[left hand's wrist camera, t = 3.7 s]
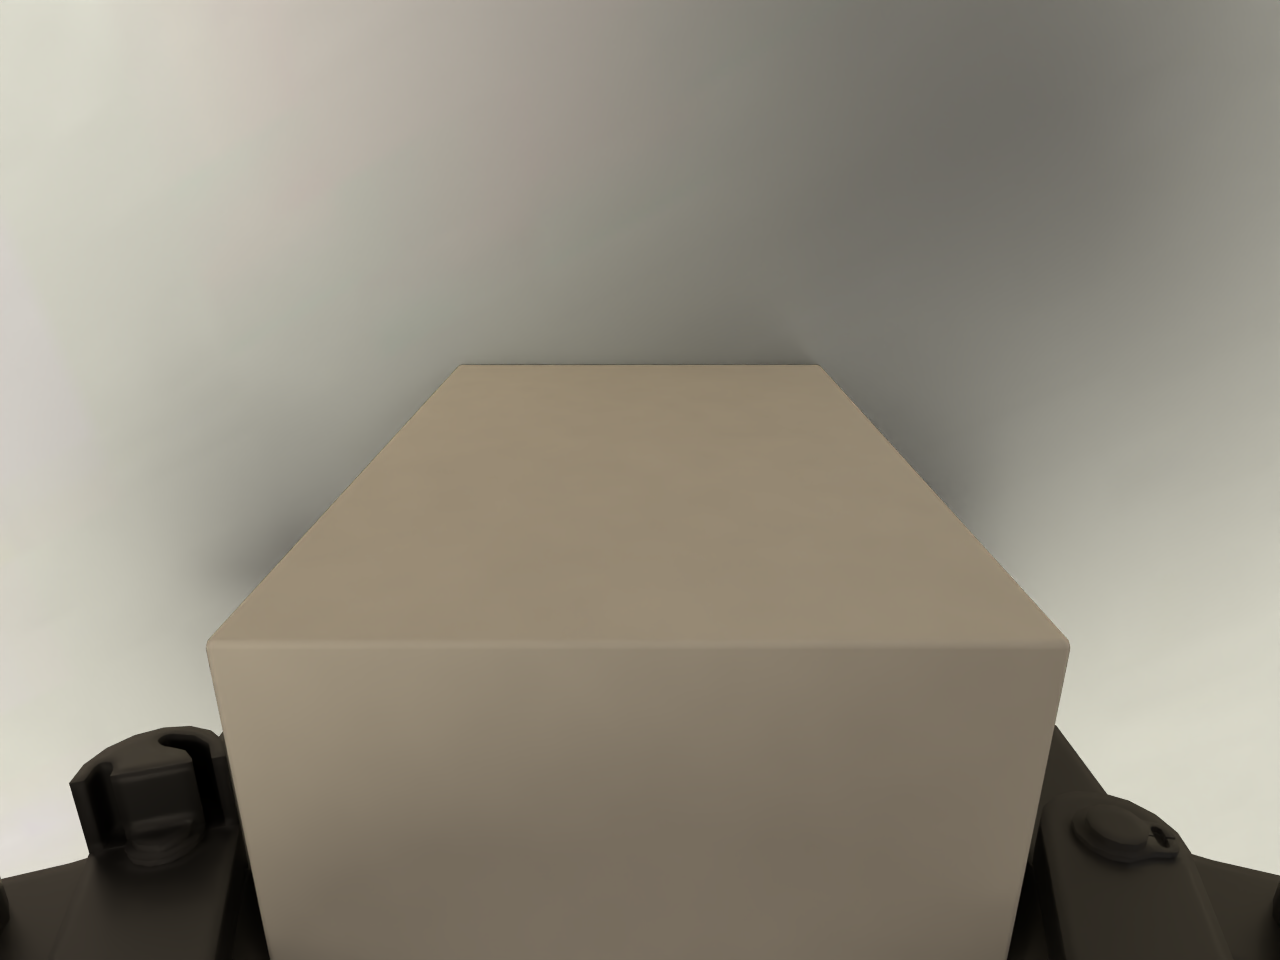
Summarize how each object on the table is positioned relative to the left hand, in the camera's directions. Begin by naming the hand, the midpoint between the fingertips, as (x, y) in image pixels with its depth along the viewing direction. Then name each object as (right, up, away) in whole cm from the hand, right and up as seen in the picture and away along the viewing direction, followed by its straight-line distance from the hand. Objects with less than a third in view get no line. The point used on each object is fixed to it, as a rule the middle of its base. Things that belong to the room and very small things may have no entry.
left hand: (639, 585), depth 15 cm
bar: (0, -8, +4) cm, 9 cm away
